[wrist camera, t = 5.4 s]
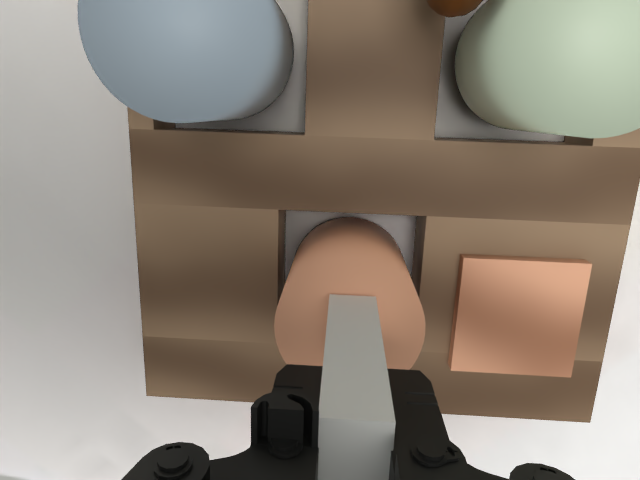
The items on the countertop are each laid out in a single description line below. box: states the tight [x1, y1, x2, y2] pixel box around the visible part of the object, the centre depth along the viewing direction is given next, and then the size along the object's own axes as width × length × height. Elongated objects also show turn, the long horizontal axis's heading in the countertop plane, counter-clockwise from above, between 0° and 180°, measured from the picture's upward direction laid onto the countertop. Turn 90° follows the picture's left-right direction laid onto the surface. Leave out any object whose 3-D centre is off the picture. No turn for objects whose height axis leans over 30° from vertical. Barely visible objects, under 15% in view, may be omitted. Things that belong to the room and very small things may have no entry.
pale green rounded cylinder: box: [455, 0, 640, 138], centre depth 15 cm, size 5×5×6 cm
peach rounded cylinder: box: [274, 217, 425, 370], centre depth 19 cm, size 5×5×6 cm
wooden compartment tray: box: [127, 0, 640, 423], centre depth 20 cm, size 20×20×3 cm
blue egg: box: [78, 0, 294, 123], centre depth 15 cm, size 5×5×6 cm
